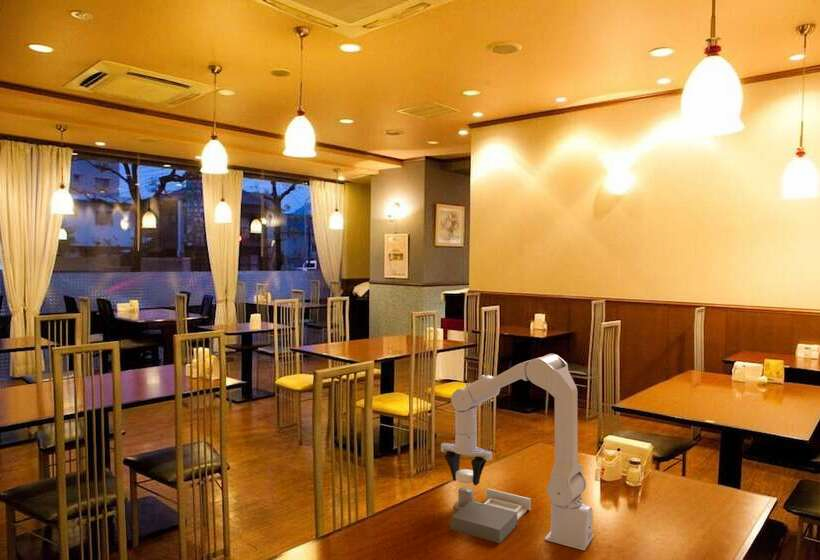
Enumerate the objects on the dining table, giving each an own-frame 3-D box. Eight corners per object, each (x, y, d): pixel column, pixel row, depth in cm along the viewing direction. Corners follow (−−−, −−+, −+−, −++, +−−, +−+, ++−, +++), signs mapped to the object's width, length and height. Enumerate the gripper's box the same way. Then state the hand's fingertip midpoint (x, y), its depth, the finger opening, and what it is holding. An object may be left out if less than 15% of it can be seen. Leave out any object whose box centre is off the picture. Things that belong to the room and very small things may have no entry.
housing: (517, 525, 145) (517, 511, 145) (499, 543, 136) (499, 529, 136) (470, 512, 152) (470, 500, 152) (451, 529, 143) (451, 516, 143)
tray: (530, 510, 154) (530, 498, 154) (514, 526, 145) (515, 514, 145) (487, 499, 161) (487, 488, 161) (469, 514, 151) (469, 502, 151)
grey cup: (480, 505, 157) (480, 488, 157) (470, 513, 152) (470, 496, 152) (460, 500, 160) (460, 484, 160) (450, 508, 155) (450, 491, 155)
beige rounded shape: (479, 477, 156) (479, 471, 156) (470, 484, 152) (470, 478, 152) (461, 473, 160) (461, 467, 159) (451, 480, 155) (451, 474, 155)
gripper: (496, 432, 155) (496, 482, 155) (449, 424, 162) (449, 471, 163) (485, 439, 149) (485, 491, 149) (436, 430, 156) (437, 479, 157)
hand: (466, 481), depth 156 cm, fingers closed on beige rounded shape, 6 cm apart
